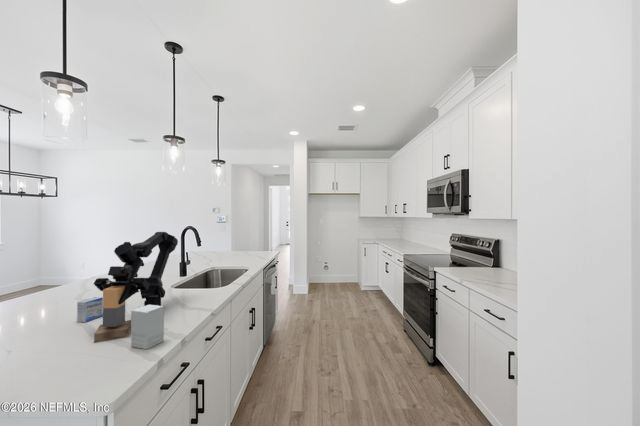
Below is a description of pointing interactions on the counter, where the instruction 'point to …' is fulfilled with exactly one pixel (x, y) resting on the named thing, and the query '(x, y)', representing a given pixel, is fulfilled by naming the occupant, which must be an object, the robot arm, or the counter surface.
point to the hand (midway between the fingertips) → (111, 304)
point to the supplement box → (147, 326)
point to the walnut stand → (112, 332)
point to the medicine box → (89, 309)
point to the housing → (113, 306)
